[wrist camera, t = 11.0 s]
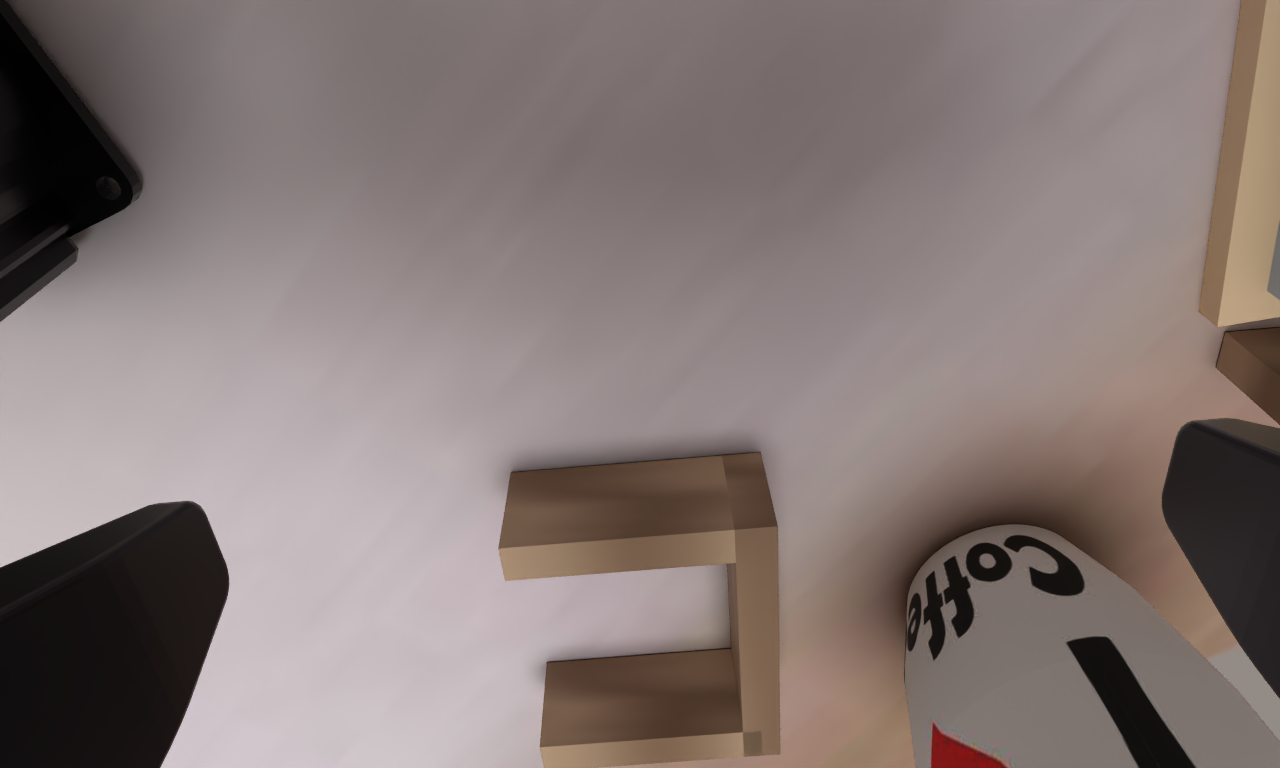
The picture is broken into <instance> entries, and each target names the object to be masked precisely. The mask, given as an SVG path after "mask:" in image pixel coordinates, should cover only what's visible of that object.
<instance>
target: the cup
mask: <svg viewBox="0 0 1280 768" xmlns="http://www.w3.org/2000/svg"><path fill="white" fill-rule="evenodd" d="M904 681H905V689H906V696H907V704H908V712H909V719H910V727H911V735H912V742H913V750H914V758H915V765H916V768H1280V741H1279V740H1278V738H1277V737H1276V736H1275V735H1274V733H1273V732H1272V731H1271V730H1270V729H1269V727H1268V726H1267V725H1266V724H1265V723H1264V721H1263V720H1262V719H1261V718H1260V716H1259V715H1258V714H1257V713H1256V712H1255V710H1254V709H1253V708H1252V707H1251V706H1250V704H1249V703H1248V702H1247V701H1246V700H1245V698H1244V697H1243V696H1242V695H1241V693H1240V692H1239V691H1238V690H1237V689H1236V688H1235V687H1234V686H1233V685H1232V684H1231V683H1230V682H1229V681H1228V680H1227V679H1226V678H1225V677H1224V676H1223V675H1222V674H1221V673H1220V672H1219V671H1218V670H1217V669H1216V668H1215V667H1214V666H1213V665H1212V664H1211V663H1210V662H1209V661H1208V660H1207V659H1206V658H1205V657H1204V656H1203V655H1202V654H1201V653H1200V652H1199V651H1198V650H1197V649H1196V648H1195V647H1194V646H1193V645H1192V644H1190V643H1189V642H1188V641H1187V640H1186V639H1185V638H1184V637H1183V636H1182V635H1181V634H1180V633H1179V632H1178V631H1177V630H1176V629H1175V628H1174V627H1173V626H1172V625H1171V624H1170V623H1169V622H1168V621H1167V620H1166V619H1165V618H1164V617H1163V616H1162V615H1161V614H1160V613H1159V612H1158V611H1157V610H1156V609H1155V608H1154V607H1153V606H1152V605H1151V604H1150V603H1149V602H1148V601H1147V600H1146V599H1145V598H1144V597H1143V596H1142V595H1140V594H1139V593H1138V592H1137V591H1136V590H1135V589H1134V588H1133V587H1132V586H1130V585H1129V584H1128V583H1126V582H1125V581H1123V580H1122V579H1121V578H1119V577H1118V576H1116V575H1115V574H1114V573H1112V572H1111V571H1109V570H1108V569H1107V568H1105V567H1104V566H1102V565H1101V564H1100V563H1098V562H1097V561H1095V560H1094V559H1092V558H1091V557H1090V556H1088V555H1087V554H1085V553H1084V552H1083V551H1081V550H1080V549H1078V548H1077V547H1076V546H1074V545H1073V544H1071V543H1070V542H1069V541H1067V540H1066V539H1064V538H1063V537H1061V536H1060V535H1058V534H1056V533H1054V532H1052V531H1049V530H1047V529H1044V528H1040V527H1036V526H1030V525H1019V524H1010V525H999V526H992V527H988V528H983V529H980V530H976V531H974V532H971V533H968V534H966V535H963V536H961V537H959V538H957V539H955V540H953V541H951V542H950V543H948V544H947V545H945V546H944V547H942V548H941V549H939V550H938V551H937V552H936V553H934V554H933V555H932V556H931V557H930V558H929V559H928V560H927V561H926V562H925V563H924V564H923V566H922V567H921V568H920V569H919V571H918V572H917V574H916V576H915V577H914V579H913V581H912V584H911V586H910V589H909V593H908V599H907V619H906V641H905V663H904Z"/></svg>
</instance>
